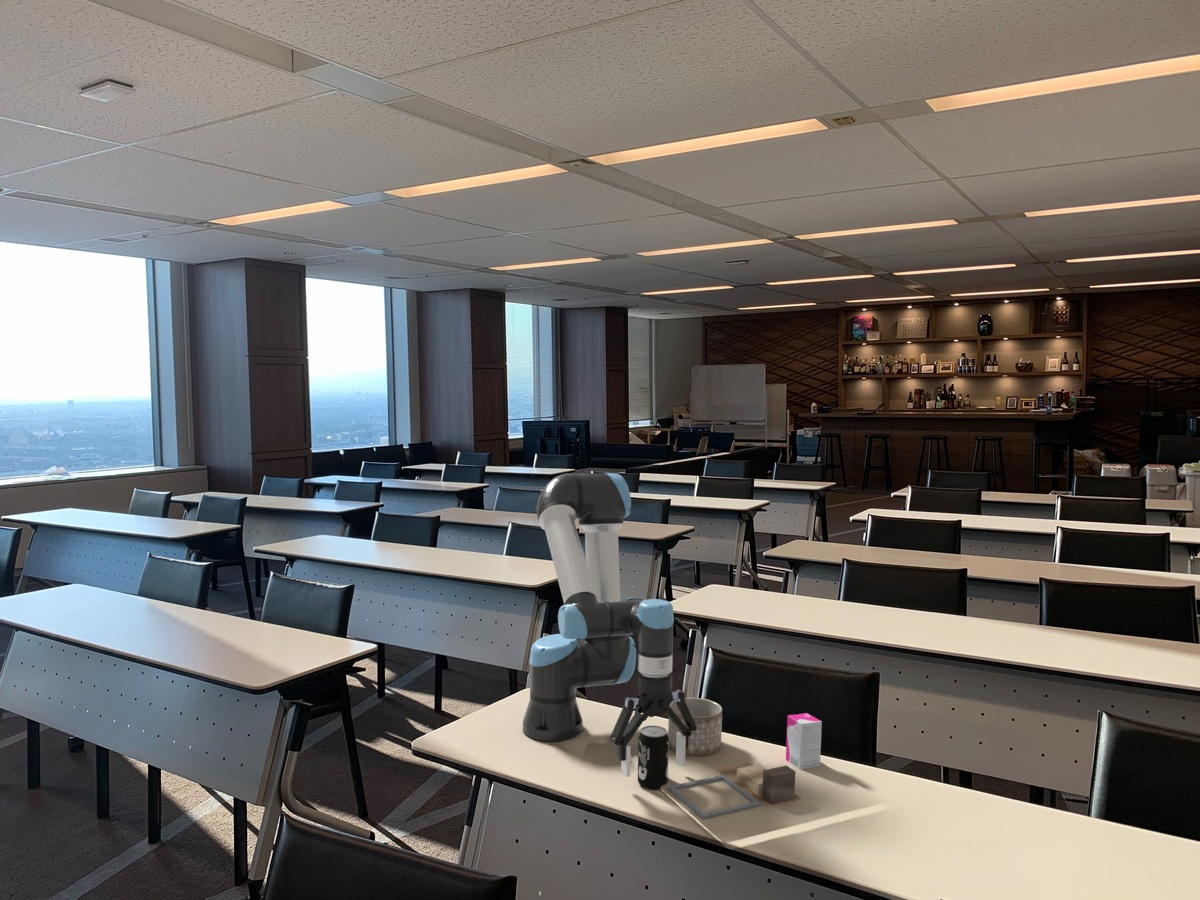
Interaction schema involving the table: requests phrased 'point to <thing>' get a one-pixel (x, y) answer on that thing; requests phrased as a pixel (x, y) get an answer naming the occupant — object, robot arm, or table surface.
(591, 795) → the table surface
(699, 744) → the planter
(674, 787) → the picture frame
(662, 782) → the beverage can
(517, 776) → the table surface
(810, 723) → the supplement box
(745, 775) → the beige wooden block
